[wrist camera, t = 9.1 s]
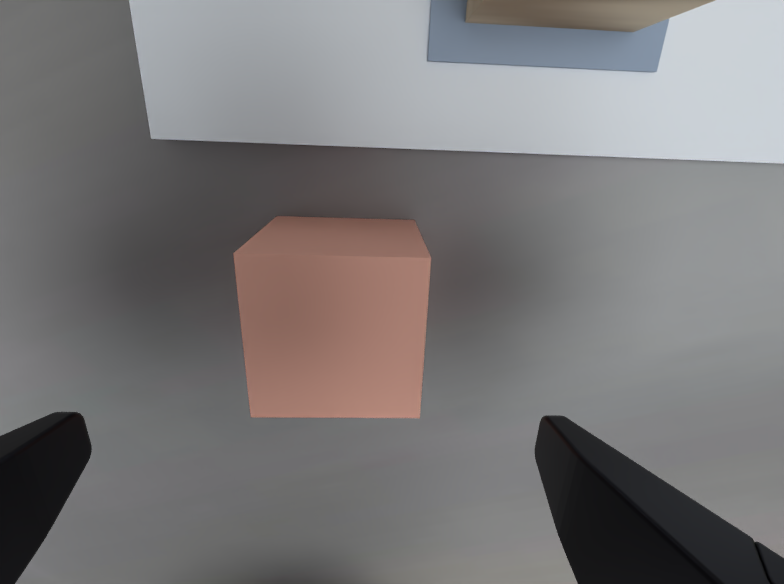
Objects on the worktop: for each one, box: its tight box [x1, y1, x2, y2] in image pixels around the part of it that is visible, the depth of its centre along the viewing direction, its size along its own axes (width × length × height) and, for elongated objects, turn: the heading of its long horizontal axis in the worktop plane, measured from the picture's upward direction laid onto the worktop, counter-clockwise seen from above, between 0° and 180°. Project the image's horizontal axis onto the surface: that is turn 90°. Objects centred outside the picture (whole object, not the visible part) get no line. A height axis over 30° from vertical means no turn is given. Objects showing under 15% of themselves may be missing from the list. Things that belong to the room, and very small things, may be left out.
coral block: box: [233, 216, 431, 418], centre depth 14 cm, size 5×5×5 cm
